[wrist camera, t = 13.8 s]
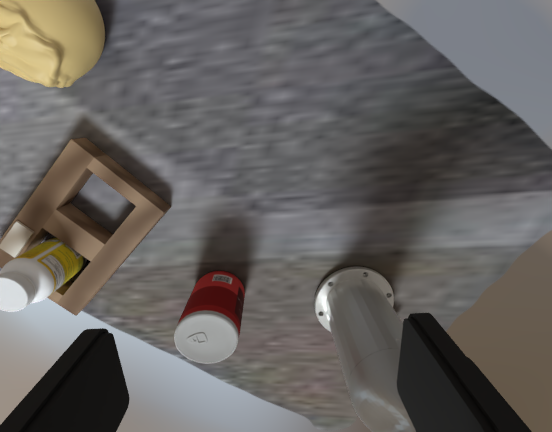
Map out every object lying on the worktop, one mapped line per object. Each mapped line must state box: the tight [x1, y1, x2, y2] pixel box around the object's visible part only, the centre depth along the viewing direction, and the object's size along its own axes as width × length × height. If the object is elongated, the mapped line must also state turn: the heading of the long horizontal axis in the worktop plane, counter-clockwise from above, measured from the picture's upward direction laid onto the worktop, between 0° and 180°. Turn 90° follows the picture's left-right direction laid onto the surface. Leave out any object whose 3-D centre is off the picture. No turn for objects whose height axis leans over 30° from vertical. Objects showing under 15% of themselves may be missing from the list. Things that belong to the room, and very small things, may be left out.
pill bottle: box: [0, 237, 87, 312], centre depth 39 cm, size 6×6×11 cm
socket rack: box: [0, 138, 171, 315], centre depth 41 cm, size 14×22×3 cm, turn 137°
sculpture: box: [0, 0, 105, 88], centre depth 30 cm, size 12×12×11 cm
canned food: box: [174, 271, 245, 363], centre depth 42 cm, size 8×8×11 cm
